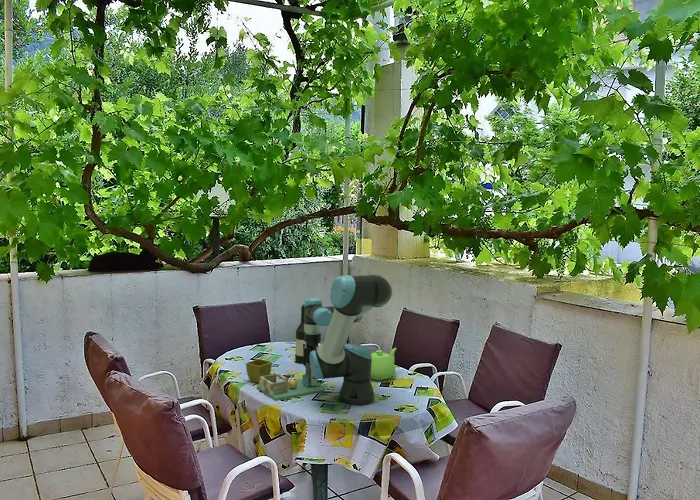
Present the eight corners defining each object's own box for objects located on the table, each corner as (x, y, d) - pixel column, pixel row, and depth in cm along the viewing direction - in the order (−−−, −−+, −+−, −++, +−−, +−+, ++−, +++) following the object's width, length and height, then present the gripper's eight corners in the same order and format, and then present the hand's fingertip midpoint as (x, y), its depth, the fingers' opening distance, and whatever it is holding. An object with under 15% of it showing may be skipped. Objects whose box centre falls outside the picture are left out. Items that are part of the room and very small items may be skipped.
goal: (287, 393, 256) (288, 378, 255) (271, 396, 251) (271, 381, 251) (275, 385, 266) (275, 371, 265) (259, 388, 261) (259, 374, 261)
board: (324, 391, 261) (324, 389, 261) (275, 400, 248) (275, 398, 248) (304, 380, 276) (304, 378, 276) (256, 388, 263) (256, 386, 263)
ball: (298, 388, 261) (298, 380, 261) (290, 390, 259) (290, 381, 258) (294, 386, 264) (294, 377, 264) (286, 387, 262) (286, 378, 262)
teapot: (384, 369, 299) (385, 344, 297) (406, 376, 288) (407, 350, 287) (352, 377, 284) (353, 350, 282) (375, 385, 273) (376, 357, 272)
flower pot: (259, 385, 267) (259, 366, 266) (245, 382, 272) (245, 362, 271) (272, 380, 275) (272, 361, 274) (257, 377, 279) (258, 358, 278)
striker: (317, 385, 266) (318, 363, 265) (307, 387, 263) (308, 365, 262) (312, 382, 270) (312, 360, 269) (302, 384, 267) (302, 362, 266)
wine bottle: (314, 361, 309) (315, 304, 306) (304, 365, 302) (306, 307, 299) (301, 358, 313) (303, 302, 311) (291, 362, 306) (293, 305, 304)
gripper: (329, 335, 260) (328, 387, 262) (310, 328, 274) (309, 377, 276) (314, 337, 256) (313, 390, 258) (296, 329, 270) (294, 380, 272)
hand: (311, 383), depth 267 cm, fingers closed on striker, 4 cm apart
